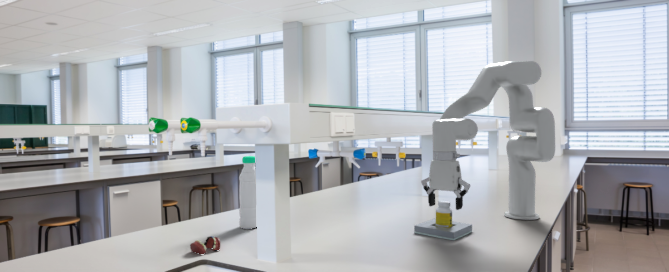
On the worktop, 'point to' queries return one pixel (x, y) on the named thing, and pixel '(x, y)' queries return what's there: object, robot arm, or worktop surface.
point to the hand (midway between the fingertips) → (445, 207)
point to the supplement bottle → (444, 215)
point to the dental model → (205, 245)
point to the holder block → (443, 230)
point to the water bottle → (247, 194)
